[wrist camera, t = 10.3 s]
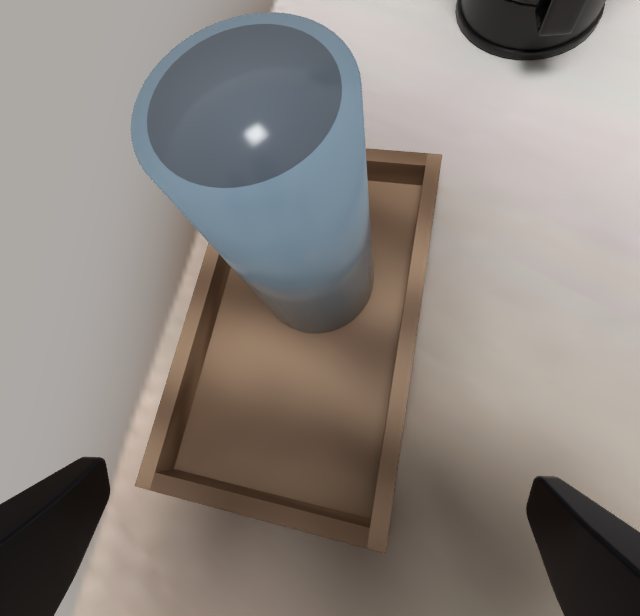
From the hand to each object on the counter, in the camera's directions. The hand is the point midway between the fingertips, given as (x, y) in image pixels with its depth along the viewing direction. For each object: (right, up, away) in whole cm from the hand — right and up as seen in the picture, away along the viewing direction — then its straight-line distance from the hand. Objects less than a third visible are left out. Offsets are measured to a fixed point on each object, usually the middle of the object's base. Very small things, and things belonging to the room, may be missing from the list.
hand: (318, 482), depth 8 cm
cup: (0, +5, +15) cm, 16 cm away
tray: (-1, +3, +15) cm, 15 cm away
